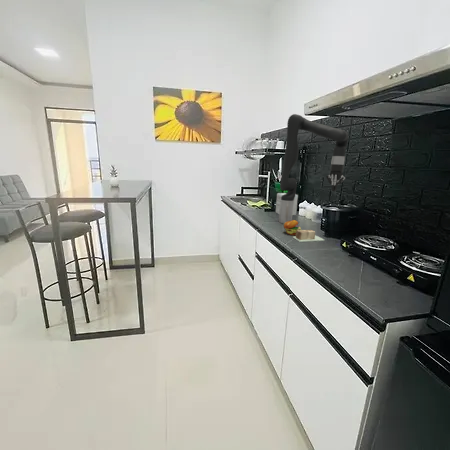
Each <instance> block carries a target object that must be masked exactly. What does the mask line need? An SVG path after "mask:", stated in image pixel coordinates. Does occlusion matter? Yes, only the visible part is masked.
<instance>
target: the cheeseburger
mask: <svg viewBox="0 0 450 450" xmlns="http://www.w3.org/2000/svg"><path fill="white" fill-rule="evenodd" d="M298 224H299V222H298V220H295V219H292V221H288V222H285V223H283V228H284V231H285V232H286V234H287V235H289V236H296V230H302V228H301V226H299V225H298Z"/></svg>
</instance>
